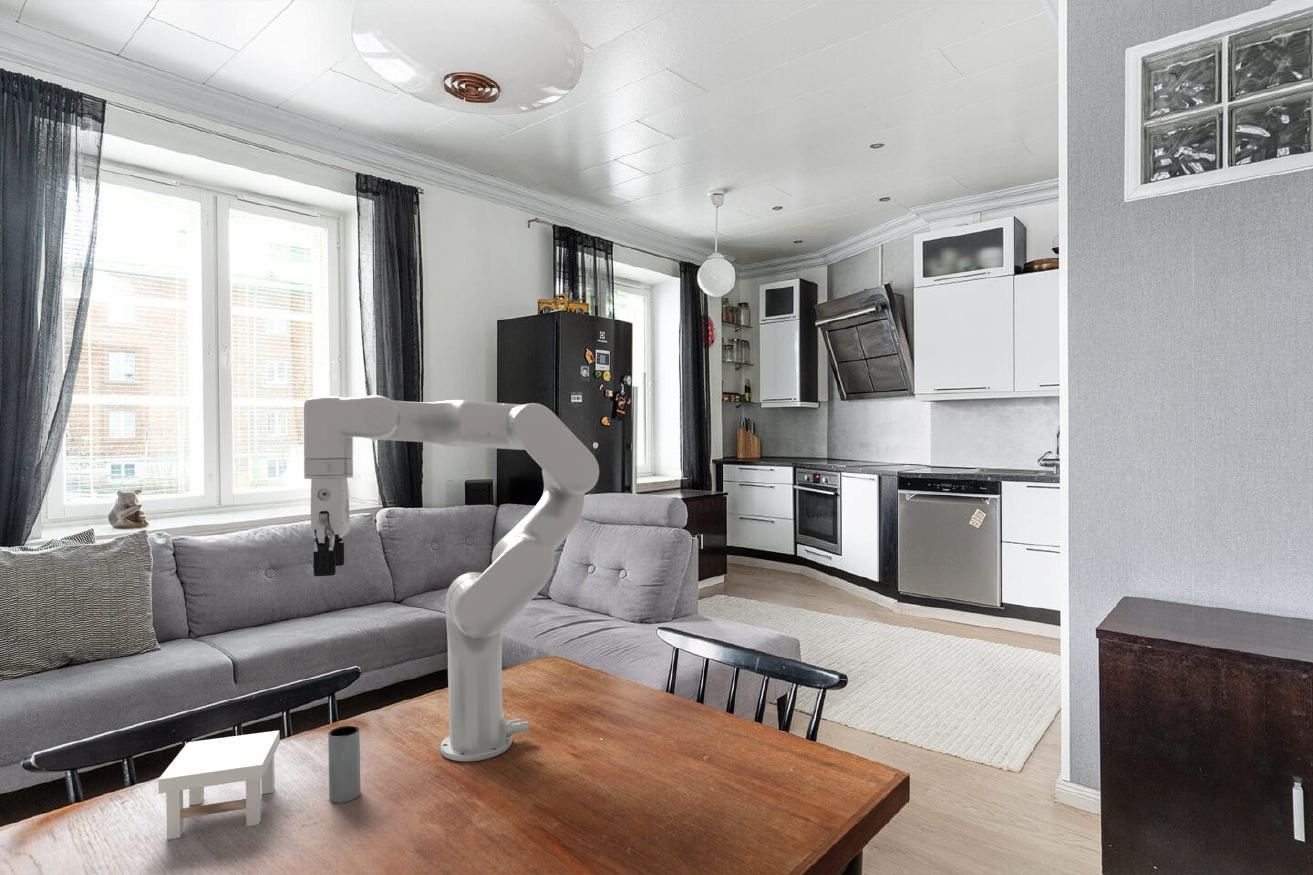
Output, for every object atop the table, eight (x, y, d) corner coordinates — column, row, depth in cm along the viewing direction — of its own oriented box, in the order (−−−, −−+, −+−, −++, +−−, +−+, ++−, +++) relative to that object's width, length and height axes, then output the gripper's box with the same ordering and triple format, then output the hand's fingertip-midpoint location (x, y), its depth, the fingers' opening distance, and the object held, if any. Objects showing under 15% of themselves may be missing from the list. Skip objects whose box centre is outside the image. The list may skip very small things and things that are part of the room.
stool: (280, 785, 116) (279, 730, 116) (263, 825, 104) (262, 764, 104) (188, 799, 112) (187, 742, 112) (159, 843, 100) (158, 779, 100)
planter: (348, 804, 109) (347, 737, 109) (322, 801, 110) (321, 735, 110) (366, 789, 114) (365, 725, 114) (341, 787, 115) (340, 724, 115)
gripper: (345, 470, 113) (346, 578, 113) (358, 467, 129) (359, 561, 129) (293, 471, 111) (294, 581, 110) (314, 468, 127) (314, 563, 127)
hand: (329, 570), depth 120 cm, fingers open, 9 cm apart
